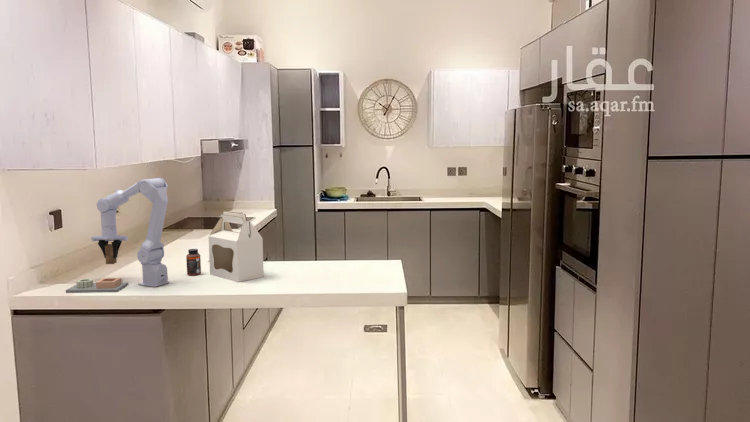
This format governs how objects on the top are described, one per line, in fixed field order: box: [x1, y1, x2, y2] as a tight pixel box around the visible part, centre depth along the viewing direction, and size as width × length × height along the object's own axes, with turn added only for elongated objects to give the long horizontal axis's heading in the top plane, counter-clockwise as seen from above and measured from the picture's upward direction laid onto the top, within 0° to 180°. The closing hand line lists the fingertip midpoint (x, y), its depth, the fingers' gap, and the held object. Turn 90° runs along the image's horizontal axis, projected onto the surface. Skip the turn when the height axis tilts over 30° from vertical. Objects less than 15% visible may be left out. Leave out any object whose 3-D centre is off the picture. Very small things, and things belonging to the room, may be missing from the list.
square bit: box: [104, 243, 118, 265], centre depth 242 cm, size 3×3×8 cm
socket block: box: [65, 277, 129, 294], centre depth 229 cm, size 20×11×4 cm, turn 92°
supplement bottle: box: [185, 248, 202, 277], centre depth 253 cm, size 6×6×11 cm
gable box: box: [208, 210, 265, 283], centre depth 249 cm, size 22×13×28 cm, turn 48°
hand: (110, 257), depth 242 cm, fingers closed on square bit, 3 cm apart
